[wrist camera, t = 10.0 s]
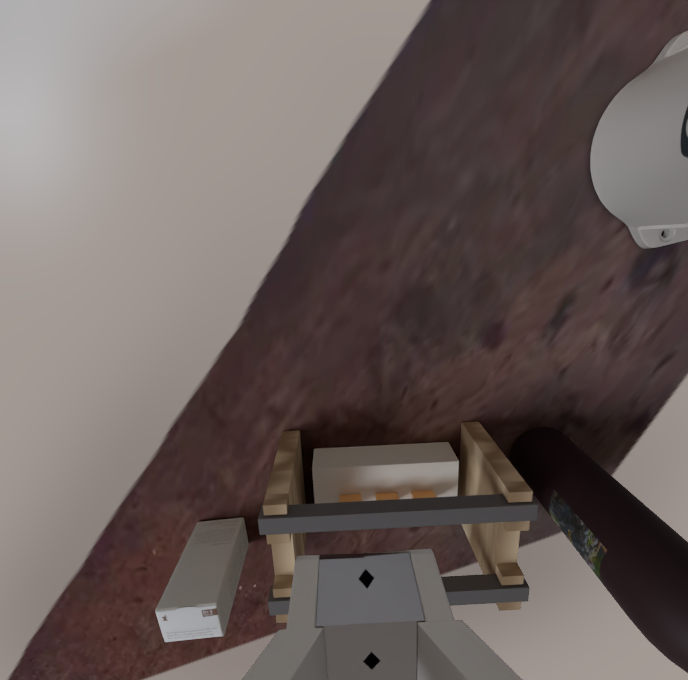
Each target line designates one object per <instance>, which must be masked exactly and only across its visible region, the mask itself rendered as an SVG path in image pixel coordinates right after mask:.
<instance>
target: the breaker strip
mask: <svg viewBox="0 0 688 680" xmlns="http://www.w3.org/2000/svg"><path fill="white" fill-rule="evenodd" d="M458 469H459V461H458V459H457V457H456V455H455V453H454V451H453V450H452V448H451V446H450V444H449V442H436V443H417V444H397V445H377V446H358V447H338V448H318V449H314V454H313V464H312V474H313V488H314V501H315V504H317V503H336V502H339V495H350V494H361V498H362V501H375V500H376V497H375V493H388V492H397V494H398V496H399V499H412V496H411V491H427V490H433V491H434V493H435V495H436V496H437V497H451V496H457V493H458Z"/></svg>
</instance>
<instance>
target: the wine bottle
mask: <svg viewBox="0 0 688 680" xmlns="http://www.w3.org/2000/svg"><path fill="white" fill-rule="evenodd" d="M511 460H512V464H513V466H514V468H515V469H516V470H517V472H518V473H519V474H520V476H521V477H522V478H523V479H524V481H525V482H526V483H527V485H528V486H529V487H530V488H531V490H532V491H533V494H534V495H535V496H536V498H537V499H538V500H539V502H540V503H541V504H542V506H543V507H544V508H545V509H546V511H547V512H548V513H549V515H550V516H551V517H552V518H553V520H554V521H555V522H556V524H557V525H558V526H559V528H560V529H561V530H562V531H563V533H564V534H565V535H566V537H567V538H568V539H569V540H570V542H571V543H572V544H573V546H574V547H575V548H576V550H577V551H578V552H579V553H580V555H581V556H582V557H583V559H584V560H585V561H586V562H587V564H588V565H589V566H590V568H591V569H592V570H593V572H594V573H595V574H596V575H597V577H598V578H599V579H600V581H601V582H602V583H603V585H604V586H605V587H606V588H607V590H608V591H609V592H610V594H611V595H612V596H613V597H614V599H615V600H616V601H617V603H618V604H619V605H620V607H621V608H622V609H623V610H624V612H625V613H626V614H627V616H628V617H629V618H630V619H631V620H632V622H633V623H634V624H635V625H636V626H637V628H638V629H639V630H640V631H641V632H642V634H643V635H644V636H645V637H646V638H647V639H648V640H649V641H650V642H651V643H652V644H653V645H654V646H655V647H656V648H657V649H658V650H659V651H660V652H662V653H663V654H664V655H665V656H666V657H667V658H668V659H669V660H671V661H672V662H673V663H675V664H676V665H678V666H679V667H680V668H682V669H683V670H684V671H686V672H687V673H688V542H687V541H686V540H684V539H683V538H682V537H681V536H680V535H679V534H678V533H676V532H675V531H674V530H673V529H672V528H671V527H669V526H668V525H667V524H666V523H665V522H664V521H662V520H661V519H660V518H659V517H658V516H657V515H655V514H654V513H653V512H652V511H651V510H650V509H649V508H647V507H646V506H645V505H644V504H643V503H642V502H641V501H639V500H638V499H637V498H636V497H635V496H634V495H632V494H631V493H630V492H629V491H628V490H627V489H626V488H624V487H623V486H622V485H621V484H620V483H619V482H618V481H616V480H615V479H614V478H613V477H612V476H611V475H609V474H608V473H607V472H606V471H605V470H604V469H603V468H601V467H600V466H599V465H598V464H597V463H596V462H594V461H593V460H592V459H591V458H590V457H589V456H588V455H586V454H585V453H584V452H583V451H582V450H581V449H579V448H578V447H577V446H576V445H575V444H574V443H573V442H571V441H570V440H569V439H568V438H567V437H566V436H564V435H563V434H562V433H560V432H559V431H557V430H554V429H551V428H545V427H542V428H535V429H532V430H530V431H527V432H526V433H524V434H523V435H522V436H521V437H519V438H518V440H517V441H516V442H515V444H514V446H513V448H512V452H511Z"/></svg>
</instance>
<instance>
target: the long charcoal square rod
mask: <svg viewBox="0 0 688 680" xmlns="http://www.w3.org/2000/svg"><path fill="white" fill-rule="evenodd" d="M537 514H538V503H537V502H536V501H535V499H534V498H533V497H532V501H530V502H511V503H509V502H508V501H507V499H506V498H505V496H504V495H503V494H489V495H470V496H451V497H432V498H413V499H394V500H375V501H355V502H336V503H317V504H298V505H289V507H288V513H287V514H282V515H264V512H263V506H261V510H260V513H259V517H258V525H259V533H260V535H269V534H288V533H307V532H326V531H344V530H363V529H382V528H401V527H420V526H439V525H458V524H477V523H495V522H514V521H533V520H537Z"/></svg>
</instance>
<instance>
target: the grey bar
mask: <svg viewBox="0 0 688 680" xmlns="http://www.w3.org/2000/svg"><path fill="white" fill-rule="evenodd" d="M441 579H442V582H443V585H444V588H445V591H446V595H447V598H448V601H449V604H450V605H467V604H485V603H503V602H522V601H528V595H529V586H528V584H527V582H526V581H525V579H524V580H523V584H518V585H501V583H500V581H499V579H498V577H497V575H496V574H486V575H468V576H450V577H441ZM289 604H290V597H280V598H274V596H273V586H271V589H270V594H269V600H268V605H269V613H270V615H286V614H288V612H289Z"/></svg>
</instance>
